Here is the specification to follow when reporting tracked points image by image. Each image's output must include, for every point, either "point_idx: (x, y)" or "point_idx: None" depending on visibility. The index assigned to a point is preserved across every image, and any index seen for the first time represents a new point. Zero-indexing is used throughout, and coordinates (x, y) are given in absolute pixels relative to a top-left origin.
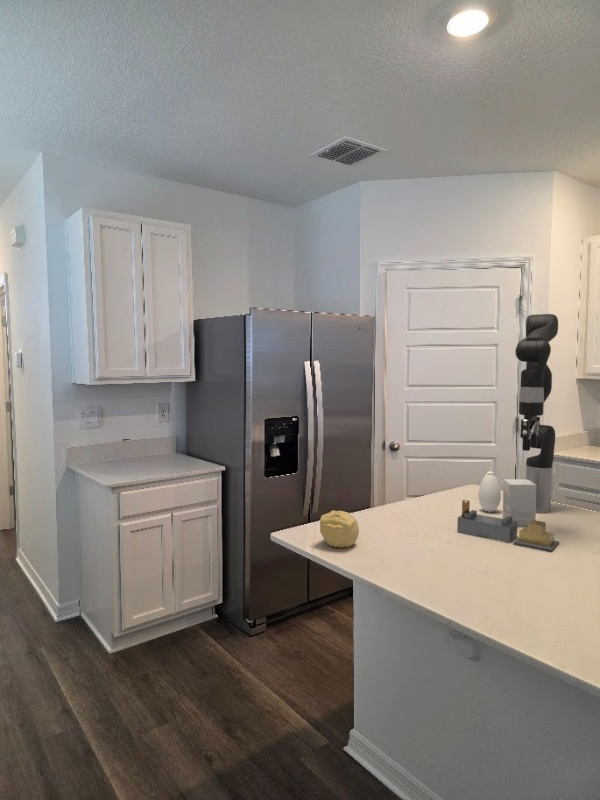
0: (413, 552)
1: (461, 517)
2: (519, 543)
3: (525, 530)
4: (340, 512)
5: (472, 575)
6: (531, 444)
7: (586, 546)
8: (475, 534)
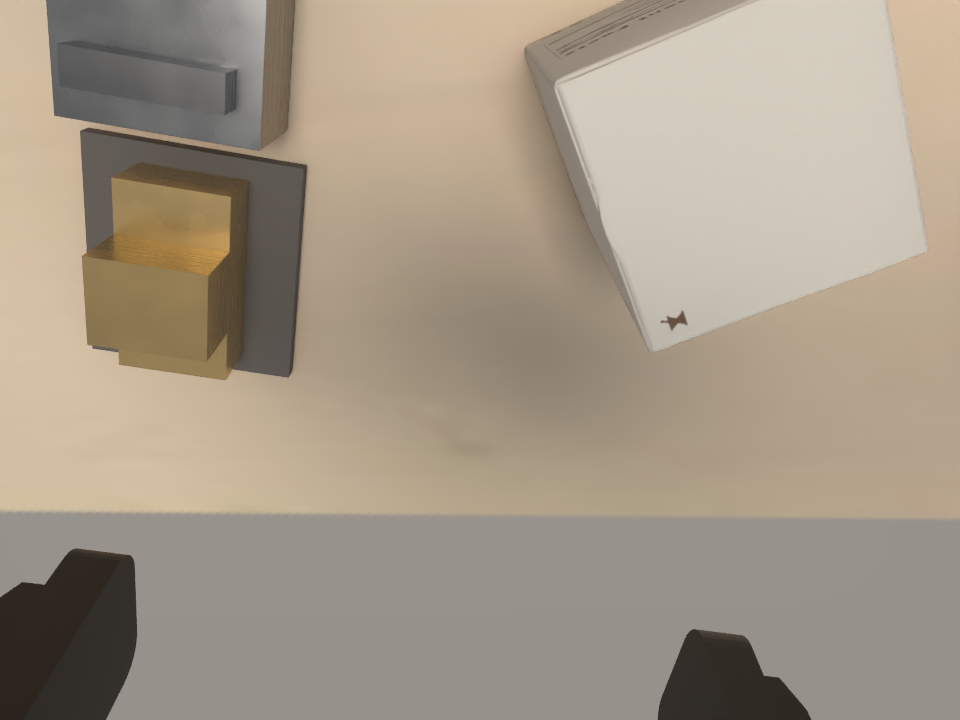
0: None
1: None
2: (82, 170)
3: (161, 214)
4: None
5: None
6: (701, 700)
7: (331, 487)
8: None
